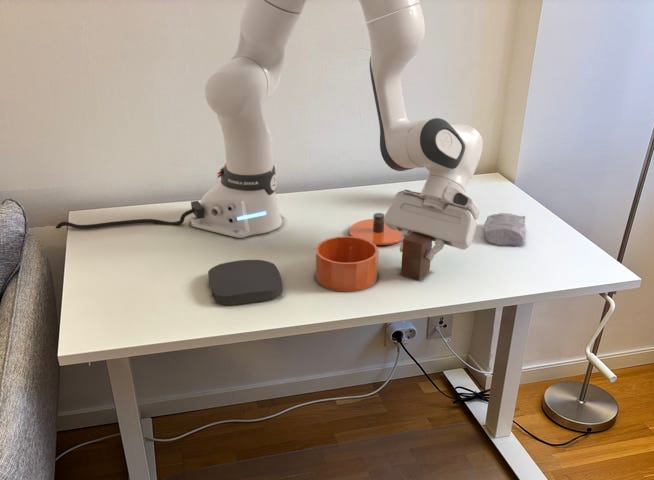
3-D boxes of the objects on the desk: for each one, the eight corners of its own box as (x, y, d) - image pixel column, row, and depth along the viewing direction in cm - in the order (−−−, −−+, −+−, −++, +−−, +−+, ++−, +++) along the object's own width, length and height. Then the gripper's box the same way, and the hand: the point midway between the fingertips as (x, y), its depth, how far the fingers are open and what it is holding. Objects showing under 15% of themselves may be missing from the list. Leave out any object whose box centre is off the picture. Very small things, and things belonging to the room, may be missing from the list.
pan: (307, 286, 152) (307, 258, 149) (326, 259, 163) (326, 232, 159) (367, 295, 149) (368, 267, 146) (383, 267, 160) (384, 240, 156)
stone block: (483, 250, 171) (527, 246, 168) (481, 231, 169) (525, 227, 166) (484, 231, 181) (525, 227, 178) (483, 213, 178) (524, 209, 176)
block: (400, 274, 157) (403, 239, 152) (411, 266, 160) (413, 231, 155) (419, 280, 155) (422, 244, 150) (429, 272, 158) (432, 236, 153)
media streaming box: (286, 299, 148) (285, 286, 146) (215, 308, 145) (213, 295, 143) (273, 267, 159) (272, 255, 158) (206, 275, 156) (205, 263, 154)
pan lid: (342, 242, 170) (342, 222, 167) (358, 219, 181) (358, 200, 178) (399, 250, 167) (401, 230, 164) (412, 227, 178) (414, 207, 175)
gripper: (394, 181, 158) (369, 237, 156) (480, 202, 148) (453, 262, 147) (403, 194, 163) (379, 249, 162) (486, 215, 154) (461, 273, 153)
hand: (415, 255), depth 154 cm, fingers closed on block, 4 cm apart
